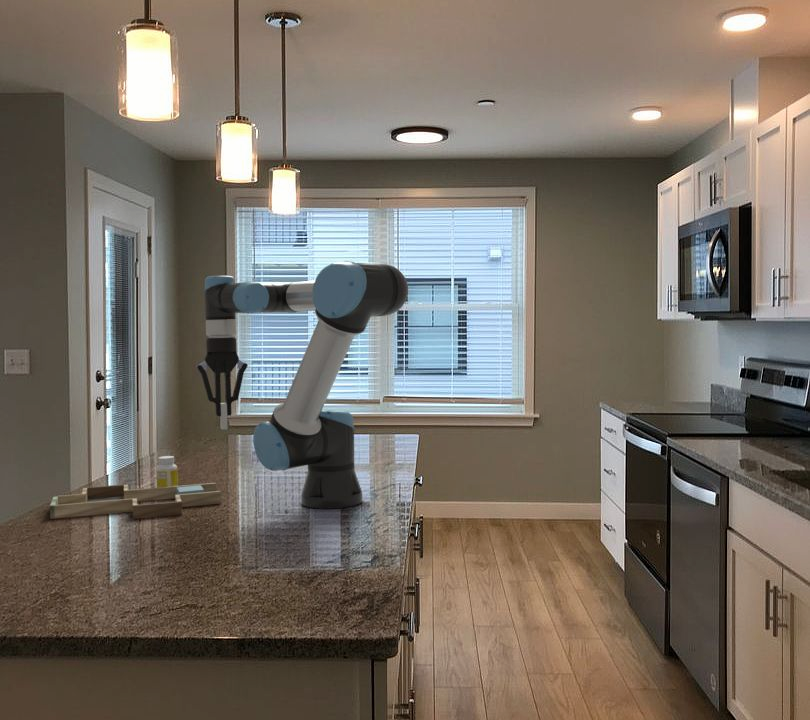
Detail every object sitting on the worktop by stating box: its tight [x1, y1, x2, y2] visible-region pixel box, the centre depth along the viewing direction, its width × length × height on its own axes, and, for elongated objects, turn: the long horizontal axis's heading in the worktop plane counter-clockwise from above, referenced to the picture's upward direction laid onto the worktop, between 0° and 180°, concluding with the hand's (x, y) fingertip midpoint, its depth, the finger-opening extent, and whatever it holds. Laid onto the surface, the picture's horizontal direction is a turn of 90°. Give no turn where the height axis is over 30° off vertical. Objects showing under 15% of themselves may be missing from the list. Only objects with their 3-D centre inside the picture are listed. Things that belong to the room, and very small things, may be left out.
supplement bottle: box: [156, 455, 179, 488], centre depth 220 cm, size 5×5×10 cm
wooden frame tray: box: [49, 482, 222, 520], centre depth 207 cm, size 28×40×3 cm
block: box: [177, 485, 204, 494], centre depth 211 cm, size 6×6×4 cm
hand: (224, 428), depth 213 cm, fingers closed
